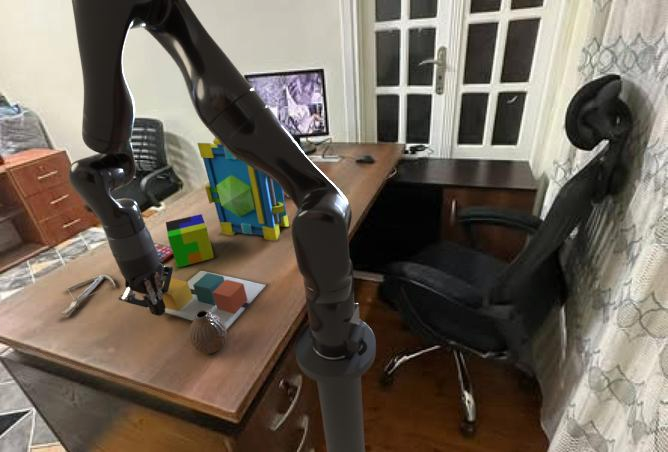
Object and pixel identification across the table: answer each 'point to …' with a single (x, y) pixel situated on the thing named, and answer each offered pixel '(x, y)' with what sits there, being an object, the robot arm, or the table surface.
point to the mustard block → (177, 295)
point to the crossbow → (85, 293)
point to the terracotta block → (230, 296)
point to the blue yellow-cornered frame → (242, 194)
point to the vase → (207, 332)
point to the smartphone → (163, 252)
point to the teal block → (207, 287)
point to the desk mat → (228, 318)
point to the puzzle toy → (189, 240)
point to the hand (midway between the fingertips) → (160, 313)
